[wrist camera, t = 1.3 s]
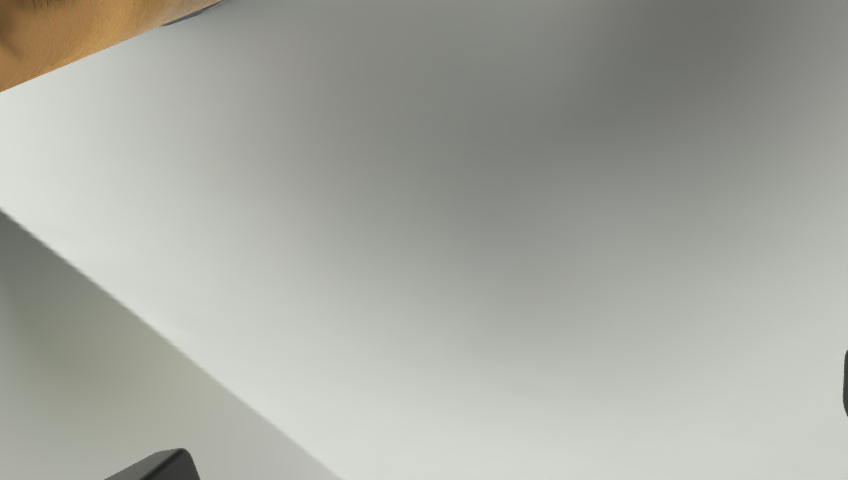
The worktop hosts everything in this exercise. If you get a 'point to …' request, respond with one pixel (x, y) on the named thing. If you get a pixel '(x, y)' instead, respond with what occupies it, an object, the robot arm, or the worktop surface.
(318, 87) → the worktop surface
